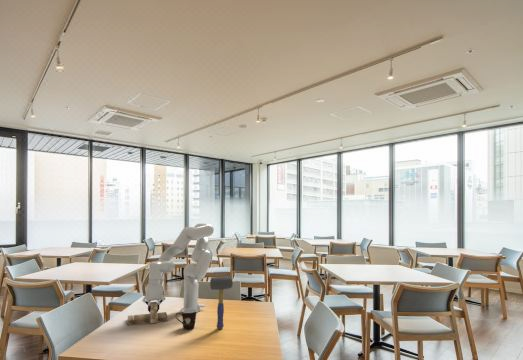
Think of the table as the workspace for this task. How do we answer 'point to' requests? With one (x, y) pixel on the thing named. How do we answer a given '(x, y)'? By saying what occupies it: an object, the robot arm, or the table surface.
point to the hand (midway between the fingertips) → (153, 311)
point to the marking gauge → (153, 312)
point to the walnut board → (146, 318)
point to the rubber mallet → (220, 294)
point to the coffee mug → (188, 318)
